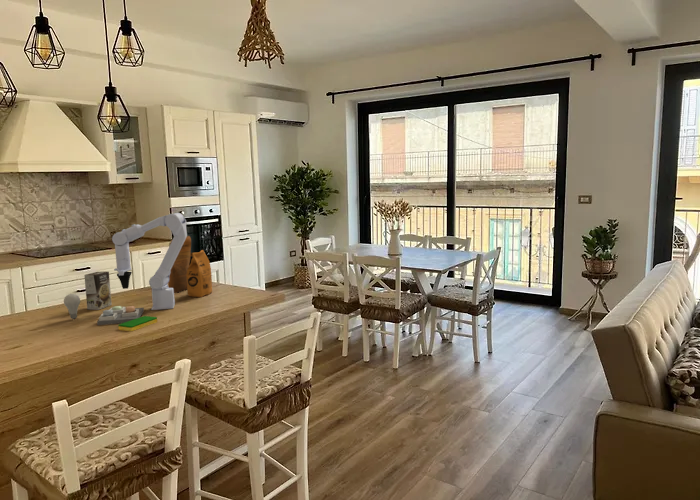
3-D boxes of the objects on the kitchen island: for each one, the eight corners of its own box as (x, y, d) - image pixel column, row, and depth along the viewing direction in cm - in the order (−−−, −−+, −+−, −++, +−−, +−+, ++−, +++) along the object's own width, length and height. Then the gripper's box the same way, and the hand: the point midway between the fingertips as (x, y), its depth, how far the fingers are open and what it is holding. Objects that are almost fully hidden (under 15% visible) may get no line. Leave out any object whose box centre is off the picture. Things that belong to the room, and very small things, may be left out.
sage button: (122, 310, 221) (122, 305, 220) (120, 312, 217) (120, 307, 217) (113, 310, 220) (113, 306, 219) (111, 312, 216) (111, 308, 216)
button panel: (143, 310, 226) (143, 304, 225) (137, 321, 208) (136, 314, 208) (107, 313, 222) (106, 306, 222) (97, 325, 205) (96, 318, 204)
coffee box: (99, 310, 229) (96, 274, 227) (86, 309, 230) (83, 274, 228) (112, 305, 238) (109, 271, 235) (100, 304, 239) (97, 270, 237)
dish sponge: (118, 330, 198) (117, 324, 198) (145, 321, 211) (144, 315, 210) (131, 332, 195) (131, 326, 195) (158, 322, 208) (157, 317, 208)
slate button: (113, 314, 210) (113, 309, 210) (111, 316, 207) (111, 311, 207) (104, 314, 210) (103, 310, 209) (102, 317, 206) (101, 312, 206)
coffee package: (184, 296, 251) (181, 253, 248) (198, 291, 263) (195, 249, 260) (201, 297, 248) (198, 253, 245) (215, 292, 260) (212, 249, 257)
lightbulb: (85, 317, 216) (82, 292, 215) (73, 321, 210) (70, 295, 209) (74, 316, 218) (71, 291, 216) (62, 320, 212) (59, 295, 211)
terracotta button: (135, 310, 216) (135, 305, 215) (134, 312, 212) (133, 307, 212) (126, 311, 215) (126, 306, 215) (125, 313, 211) (124, 308, 211)
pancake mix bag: (198, 287, 273) (195, 235, 269) (173, 294, 256) (169, 239, 252) (188, 286, 276) (185, 235, 272) (163, 294, 259) (159, 239, 255)
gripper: (116, 256, 233) (119, 285, 235) (109, 261, 219) (112, 292, 221) (133, 255, 235) (135, 284, 237) (127, 260, 221) (130, 291, 223)
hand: (125, 288), depth 229 cm, fingers closed
